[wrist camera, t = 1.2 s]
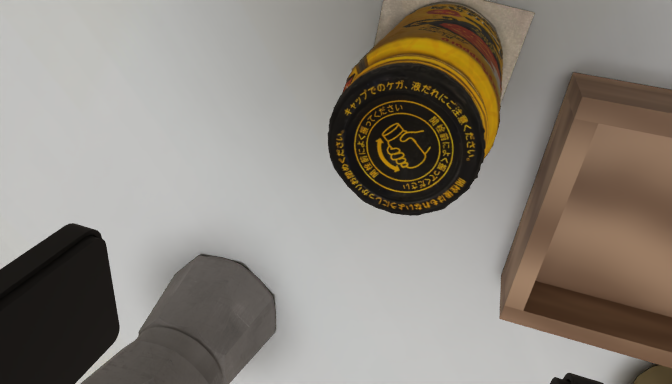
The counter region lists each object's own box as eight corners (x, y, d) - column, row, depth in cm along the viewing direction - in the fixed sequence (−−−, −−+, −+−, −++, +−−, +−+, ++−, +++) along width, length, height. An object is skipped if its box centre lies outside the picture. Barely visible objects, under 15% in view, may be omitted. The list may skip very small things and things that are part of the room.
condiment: (534, 11, 24) (548, 80, 14) (477, 164, 28) (456, 300, 18) (389, -23, 25) (304, 16, 15) (356, 128, 29) (274, 237, 19)
